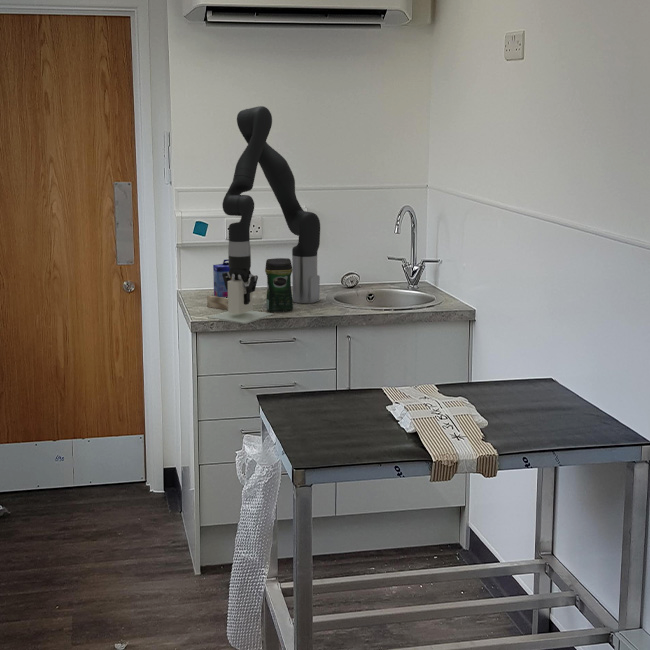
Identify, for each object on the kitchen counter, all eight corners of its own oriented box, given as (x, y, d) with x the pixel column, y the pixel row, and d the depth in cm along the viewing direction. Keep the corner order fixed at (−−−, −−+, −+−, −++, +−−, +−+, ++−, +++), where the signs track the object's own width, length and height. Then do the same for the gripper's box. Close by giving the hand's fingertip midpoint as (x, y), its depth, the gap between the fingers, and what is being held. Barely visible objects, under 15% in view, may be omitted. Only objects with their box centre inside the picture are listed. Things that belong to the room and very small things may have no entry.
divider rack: (251, 303, 347) (251, 293, 346) (229, 310, 336) (229, 299, 335) (229, 300, 352) (229, 290, 351) (207, 306, 341) (207, 296, 341)
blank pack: (252, 310, 327) (252, 278, 325) (238, 314, 321) (238, 282, 318) (242, 308, 330) (241, 277, 327) (228, 312, 323) (227, 281, 321)
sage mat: (273, 315, 328) (273, 313, 328) (245, 324, 315) (245, 322, 315) (236, 309, 336) (236, 308, 336) (207, 318, 323) (207, 316, 323)
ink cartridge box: (217, 298, 356) (216, 260, 353) (212, 296, 361) (211, 258, 358) (242, 296, 360) (241, 258, 357) (237, 294, 365) (236, 256, 362)
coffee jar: (291, 307, 341) (291, 256, 337) (294, 312, 333) (293, 259, 329) (264, 308, 339) (264, 256, 335) (266, 312, 332) (266, 260, 328)
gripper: (263, 254, 320) (263, 303, 324) (229, 250, 328) (230, 299, 331) (249, 257, 314) (250, 307, 318) (216, 253, 321) (217, 303, 325)
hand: (240, 303), depth 325 cm, fingers closed on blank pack, 4 cm apart
